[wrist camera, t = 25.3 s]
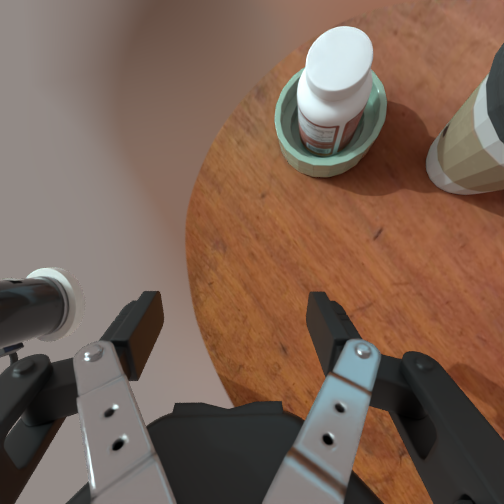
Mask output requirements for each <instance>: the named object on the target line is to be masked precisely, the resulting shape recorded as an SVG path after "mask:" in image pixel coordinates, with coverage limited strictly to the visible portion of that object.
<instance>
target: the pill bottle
mask: <svg viewBox="0 0 504 504" xmlns="http://www.w3.org/2000/svg"><path fill="white" fill-rule="evenodd" d="M372 60H373V47H372V44H371V41H370V39H369V38H368V36H367V35H366V34H365V33H364V32H362V31H361V30H359V29H357V28H354V27H348V26H342V27H336V28H333V29H331V30H329V31H327V32H325V33H324V34H322V35H321V36H320V37H319V38H318V39H317V40H316V41H315V42H314V43H313V45H312V46H311V48H310V50H309V52H308V55H307V59H306V68H305V69H304V71H303V73H302V74H301V77H300V79H299V83H298V88H297V103H298V120H299V134H300V139H301V142H302V144H303V146H304V147H305V148H306V150H308V151H309V152H310V153H312V154H314V155H317V156H322V157H327V156H332V155H335V154H337V153H339V152H340V151H342V150H343V149H344V148H345V147H346V146H347V145H348V144H349V143H350V141H351V140H352V138H353V136H354V133H355V131H356V129H357V126H358V124H359V121H360V119H361V116H362V114H363V111H364V109H365V106H366V104H367V101H368V99H369V96H370V93H371V89H372V82H373V79H372V71H371V68H370V67H371V64H372Z"/></svg>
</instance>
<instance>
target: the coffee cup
mask: <svg viewBox="0 0 504 504" xmlns="http://www.w3.org/2000/svg"><path fill="white" fill-rule="evenodd" d="M426 171H427V173H428V175H429V178H430V180H431V181H432V182H433V183H434V184H435V185H436V186H437V187H438V188H440V189H442V190H444V191H446V192H449V193H454V194H462V195H468V194H479V193H485V192H492V191H498V190H504V43H503V45H502V46H501V48H500V49H499V50H498V52H497V53H496V55H495V57H494V60H493V63H492V67H491V70H490V72H489V73H488V75H487V76H486V77H485V78H484V79H483V81H482V82H481V83H480V84H479V86H478V87H477V88H476V89H475V91H474V92H473V93H472V94H471V96H470V97H469V98H468V99H467V100H466V102H465V103H464V104H463V105H462V107H461V108H460V109H459V110H458V112H457V113H456V114H455V115H454V116H453V118H452V119H451V120H450V121H449V123H448V124H447V125H446V126H445V128H444V129H443V130H442V131H441V133H440V134H439V135H438V136H437V138H436V139H435V140H434V142H433V143H432V145H431V146H430V150H429V152H428V155H427V158H426Z"/></svg>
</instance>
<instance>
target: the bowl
mask: <svg viewBox="0 0 504 504" xmlns="http://www.w3.org/2000/svg"><path fill="white" fill-rule="evenodd" d="M305 68H306V67H305ZM305 68H303V69H302V70H300V71H299V72H298V73H296V74H295V75H294V76H293V77H292V78H291V79H290V81H289V82H288V83H287V84H286V86H285V87H284V88H283V90H282V92H281V95H280V97H279V99H278V102H277V104H276V111H275V120H274V121H275V126H276V131H277V135H278V140H279V144H280V148H281V152H282V154H283V155H284V157H285V158H286V160H287V162H288V163H289V164H290V165H291V166H293V167H294V168H295V169H296V170H297V171H299V172H301V173H304V174H306V175H309V176H312V177H331V176H334V175H338V174H342V173H344V172H346V171H347V170H349V169H350V168H352V167H354V166H355V165H357V164H358V163H359V161H360V160H361V159H362V158H363V157H364V156H365V155H366V154H367V152H368V151H369V149H370V147H371V146H372V144H373V143H374V141H375V140H376V138H377V137H378V134H379V132H380V130H381V128H382V126H383V124H384V121H385V117H386V108H387V99H386V95H385V91H384V86H383V84H382V83H381V81H380V80H379V78H378V77H377V76H376V74H375V73H374V72H373V70H371V71H372V79H373V82H372V89H371V93H370V96H369V99H368V101H367V104H366V106H365V109H364V111H363V114H362V116H361V119H360V121H359V124H358V126H357V129H356V131H355V133H354V136H353V138H352V140H351V141H350V143H349V144H348V145H347V146H346V147H345V148H344V149H343V150H342V151H340V152H339V153H337V154H335V155H332V156H327V157H322V156H317V155H314V154H312V153H310V152H309V151H308V150H306V148H305V147H304V146H303V144H302V142H301V139H300V134H299V120H298V103H297V88H298V83H299V79H300V77H301V74H302V73H303V71H304V69H305Z"/></svg>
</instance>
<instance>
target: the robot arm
mask: <svg viewBox="0 0 504 504" xmlns="http://www.w3.org/2000/svg"><path fill="white" fill-rule="evenodd" d="M68 313H69V300H68V296H67V293H66V291H65V289H64V287H63V286H62V284H61V283H60V282H59V281H57V280H56V279H54V278H52V277H49V276H39V277H34V278H25V279H13V278H3V281H0V357H3V356H6V355H9V356H10V362H11V364H10V366H9V367H8V368H7V369H6V370H5V371H4V372H3V373H2V374H1V375H0V504H15V502H16V500H17V499H18V497H19V495H20V494H21V492H22V490H23V489H24V487H25V485H26V484H27V482H28V480H29V479H30V477H31V475H32V474H33V472H34V470H35V469H36V467H37V465H38V464H39V462H40V460H41V459H42V457H43V455H44V453H45V452H46V450H47V449H48V447H49V445H50V443H51V442H52V440H53V438H54V437H55V435H56V433H57V432H58V430H59V428H60V427H61V425H62V423H63V422H64V420H65V418H66V417H67V416H70V415H74V414H76V413H79V420H80V426H81V433H82V439H83V445H84V452H85V459H86V466H87V472H88V479H89V481H88V482H87V484H86V485H84V486H83V487H82V488H81V489H80V490H79V491H78V492H77V493H76V494H75V495H74V496H73V497H72V498H71V499H70V500H69V501H68V502H67V503H66V504H384V503H383V502H382V501H381V500H380V499H379V498H378V497H377V496H376V495H375V494H374V492H373V491H372V490H371V489H370V488H369V487H368V486H367V485H366V484H365V483H364V482H363V481H362V480H361V479H360V478H359V476H358V475H357V474H356V473H355V472H354V471H353V470H352V467H353V463H354V459H355V456H356V452H357V448H358V444H359V441H360V437H361V433H362V429H363V426H364V422H365V418H366V414H367V411H368V407H369V406H372V407H375V408H379V409H382V410H385V411H388V412H389V414H390V416H391V418H392V420H393V422H394V424H395V426H396V428H397V430H398V432H399V434H400V436H401V438H402V440H403V442H404V444H405V446H406V449H407V451H408V453H409V455H410V457H411V459H412V461H413V463H414V465H415V467H416V469H417V471H418V473H419V475H420V477H421V479H422V481H423V483H424V485H425V487H426V489H427V491H428V493H429V495H430V497H431V499H432V501H433V504H504V440H503V439H502V438H501V437H500V435H499V434H498V433H497V432H496V431H495V429H494V428H493V427H492V426H491V425H490V423H489V422H488V421H487V420H486V419H485V417H484V416H483V415H482V414H481V413H480V412H479V410H478V409H477V408H476V407H475V406H474V404H473V403H472V402H471V401H470V400H469V398H468V397H467V396H466V395H465V394H464V392H463V391H462V390H461V389H460V388H459V386H458V385H457V384H456V383H455V382H454V380H453V379H452V378H451V377H450V376H449V374H448V373H447V372H446V371H445V370H444V369H443V367H442V366H441V365H440V364H439V363H438V362H437V361H436V360H434V359H433V358H431V357H430V356H428V355H426V354H423V353H420V352H415V351H409V352H406V353H405V354H404V355H403V358H402V359H398V358H394V357H390V356H386V355H382V354H380V351H379V350H378V349H377V348H376V347H375V346H374V345H373V344H371V343H370V342H368V341H365V340H363V339H362V338H361V336H360V335H359V333H358V331H357V330H356V328H355V327H354V325H353V323H352V322H351V320H350V319H349V317H348V315H346V312H345V310H344V309H343V307H342V306H341V305H339V304H338V303H337V302H336V301H330V300H329V298H328V297H327V295H326V293H325V292H310V293H309V298H308V306H307V313H306V323H307V327H308V330H309V333H310V336H311V338H312V341H313V344H314V347H315V350H316V352H317V355H318V358H319V361H320V364H321V366H322V369H323V372H324V375H325V378H326V379H325V381H324V383H323V385H322V387H321V389H320V391H319V393H318V395H317V397H316V399H315V401H314V403H313V405H312V407H311V409H310V412H309V414H308V416H307V418H306V420H305V421H304V420H303V419H302V418H300V417H298V416H296V415H295V414H292V413H290V412H287V411H284V410H283V407H282V401H261V402H252V403H249V404H245V405H242V406H238V407H235V408H231V409H225V408H221V407H217V406H213V405H209V404H205V403H175V405H174V409H173V413H170V414H167V415H164V416H162V417H160V418H158V419H156V420H154V421H153V422H152V423H150V424H149V425H147V426H146V425H145V423H144V420H143V418H142V415H141V413H140V410H139V407H138V405H137V402H136V400H135V397H134V394H133V392H132V389H131V386H130V384H129V381H138V380H139V378H140V375H141V373H142V371H143V369H144V367H145V364H146V362H147V360H148V358H149V356H150V353H151V351H152V349H153V347H154V344H155V342H156V340H157V338H158V336H159V333H160V331H161V329H162V326H163V323H164V313H163V307H162V300H161V294H160V292H159V291H144V292H143V293H142V294H141V296H140V297H139V299H138V300H137V301H132V302H130V303H129V304H128V305H126V306H125V307H124V308H123V309H122V310H121V312H120V313H119V315H118V316H117V317H116V319H115V321H113V322H112V324H111V325H110V327H109V328H108V329H107V330H106V332H105V333H104V335H103V336H102V337H101V339H100V340H99V341H96V342H93V343H90V344H88V345H86V346H84V347H83V348H81V349H80V350H79V351H78V352H77V353H76V354H75V356H74V358H69V359H66V360H61V361H57V362H53V363H51V362H50V359H49V357H48V356H46V355H44V354H36V355H31V356H28V357H25V358H23V359H20V360H18V356H17V353H16V351H18V350H19V349H21V348H23V347H24V345H23V343H22V342H24V341H28V340H30V339H34V338H37V337H40V336H43V335H48V334H51V333H54V332H56V331H58V330H59V329H60V328H61V327H62V326H63V325H64V323H65V322H66V320H67V317H68ZM20 416H21V419H20V420H19V421H18V422H17V424H16V425H15V426H14V428H13V429H12V430H11V431H10V433H9V434H8V432H9V430H10V429H11V428H12V426H13V425H14V424H15V423H16V421H17V420H18V419H19V417H20ZM7 434H8V435H7ZM6 436H7V437H6Z"/></svg>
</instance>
